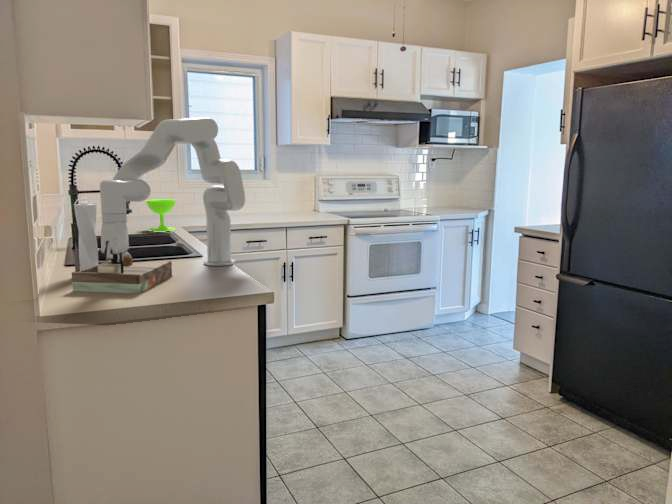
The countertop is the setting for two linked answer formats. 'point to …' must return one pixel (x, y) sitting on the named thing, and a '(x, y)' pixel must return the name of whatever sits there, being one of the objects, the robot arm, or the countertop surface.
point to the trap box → (120, 279)
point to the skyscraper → (86, 235)
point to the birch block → (109, 268)
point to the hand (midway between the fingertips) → (117, 273)
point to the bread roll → (125, 259)
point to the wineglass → (161, 211)
